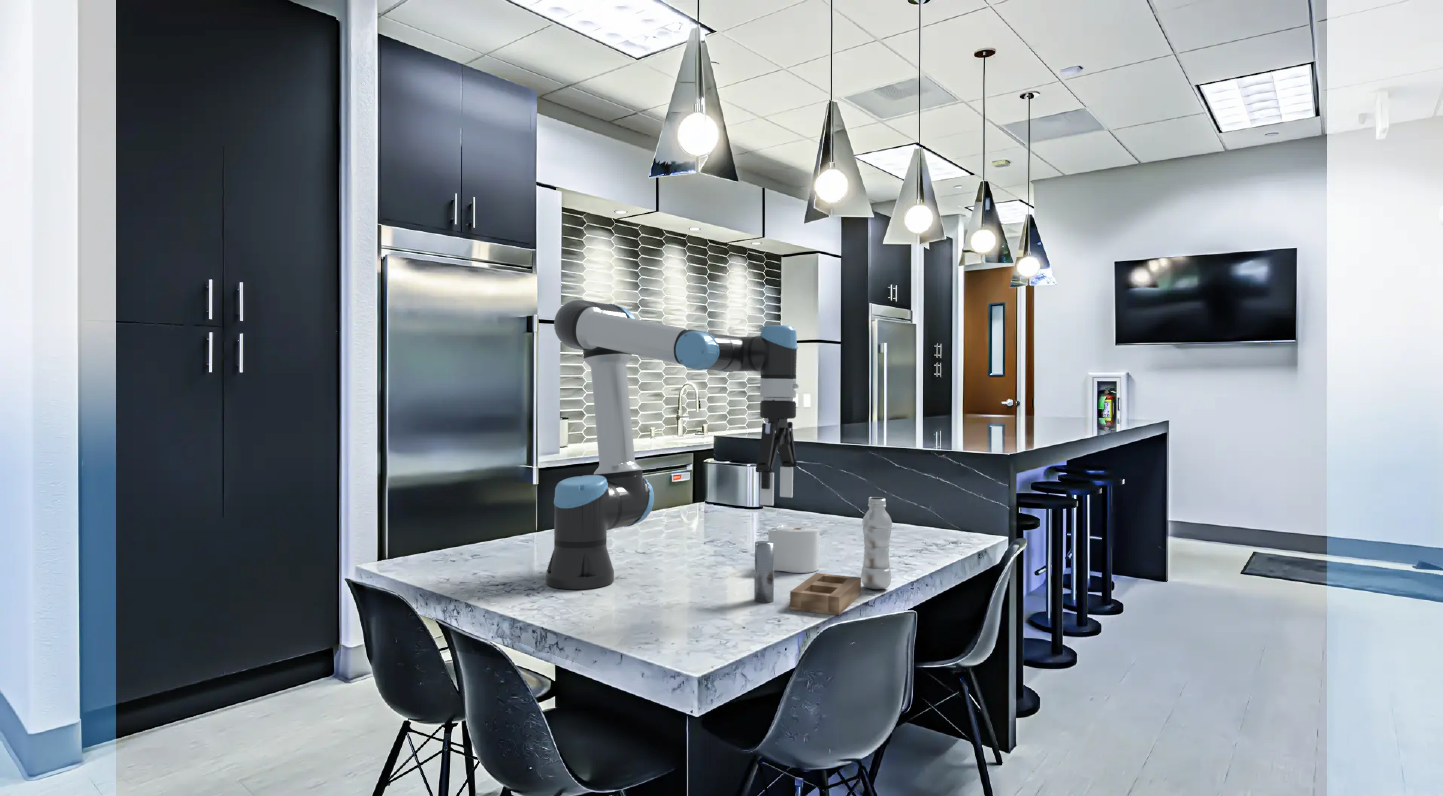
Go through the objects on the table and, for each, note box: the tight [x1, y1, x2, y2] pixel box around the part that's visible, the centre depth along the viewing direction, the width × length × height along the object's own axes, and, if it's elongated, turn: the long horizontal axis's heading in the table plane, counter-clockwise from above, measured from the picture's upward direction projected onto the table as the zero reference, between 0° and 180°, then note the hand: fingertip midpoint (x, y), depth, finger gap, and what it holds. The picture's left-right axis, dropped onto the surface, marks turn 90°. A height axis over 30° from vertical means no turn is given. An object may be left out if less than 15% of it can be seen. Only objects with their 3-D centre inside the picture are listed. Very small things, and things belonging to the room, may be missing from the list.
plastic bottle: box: [860, 496, 893, 590], centre depth 172 cm, size 6×7×20 cm
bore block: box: [789, 572, 862, 616], centre depth 161 cm, size 10×18×4 cm, turn 157°
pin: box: [753, 540, 775, 604], centre depth 161 cm, size 4×4×12 cm
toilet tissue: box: [767, 523, 820, 574], centre depth 191 cm, size 11×12×10 cm
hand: (776, 501), depth 163 cm, fingers open, 13 cm apart
